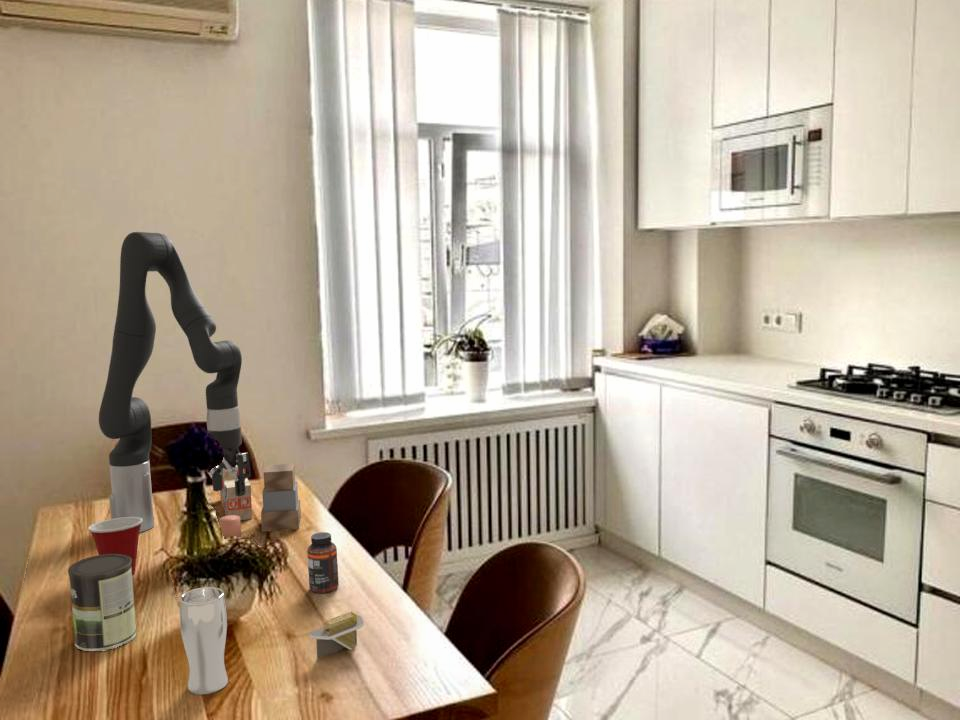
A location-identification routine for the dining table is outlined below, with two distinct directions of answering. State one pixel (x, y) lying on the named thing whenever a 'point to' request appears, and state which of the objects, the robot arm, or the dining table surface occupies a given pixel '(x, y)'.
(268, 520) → the tower bottom
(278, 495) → the tower middle
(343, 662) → the dining table surface
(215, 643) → the beer glass
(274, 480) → the tower top
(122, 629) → the coffee can
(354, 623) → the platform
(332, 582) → the supplement bottle
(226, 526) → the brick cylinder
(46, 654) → the dining table surface
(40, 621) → the dining table surface
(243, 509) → the stack of blocks
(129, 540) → the plastic cup
